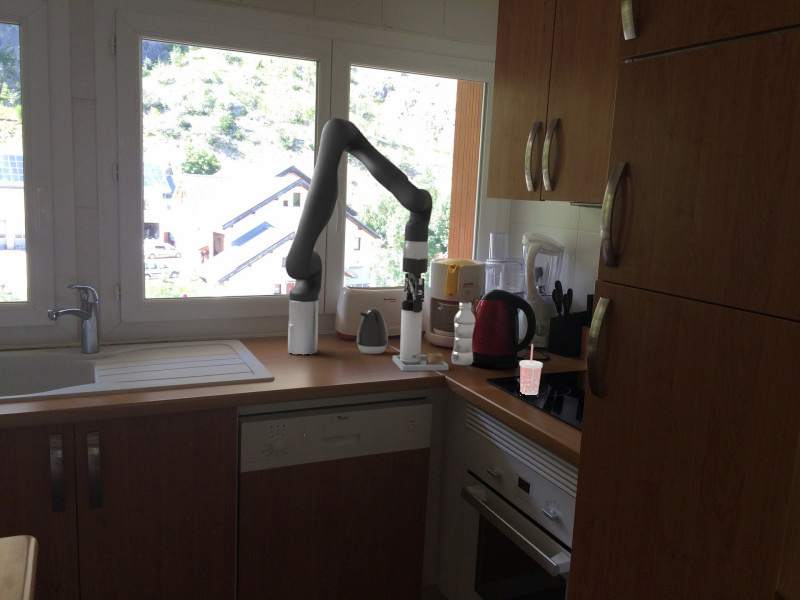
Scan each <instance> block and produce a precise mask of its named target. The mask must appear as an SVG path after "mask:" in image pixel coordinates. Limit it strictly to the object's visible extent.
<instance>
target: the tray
mask: <svg viewBox="0 0 800 600" xmlns="http://www.w3.org/2000/svg"><path fill="white" fill-rule="evenodd" d="M426 359H427V354H421V357H420V364H419V365H405V364H404V363H403V362H402V361H401V360H400V354H399V355H398V354H397V355H392V362H393V363H394V364H395V365H396V366H397V367H398V368H399V370H401V371H402V372H430V371H431V372H432V371H436V372H437V371H449V364H448V363H447V362H446V361H444V360H443V364H438V365H426Z"/></svg>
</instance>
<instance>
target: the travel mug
mask: <svg viewBox="0 0 800 600" xmlns="http://www.w3.org/2000/svg"><path fill="white" fill-rule="evenodd" d="M424 299H425V298H424ZM424 299H422V300H421V312H420V313H415V312H413V300H414V299H411V300H406V299H405V300H403V301H402V302H401V317H400V318H401V319H400V320H401V321H400V345H399V347H400V348H399V349H400V350H399V352H400V353H399V355H400V360H401V361H402V362H403V363H404V364H405V365H419V364H420V357H421V355H422V353H421V352H422V351H421V350H422V329H423V327H422V325H423V303H424V302H425V300H424Z"/></svg>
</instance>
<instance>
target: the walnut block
mask: <svg viewBox="0 0 800 600" xmlns="http://www.w3.org/2000/svg"><path fill="white" fill-rule="evenodd" d="M426 355H427V359H426V365H438V364H443V361H444V355H443V354H442V353H440V352H426Z"/></svg>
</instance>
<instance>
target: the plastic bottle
mask: <svg viewBox="0 0 800 600" xmlns="http://www.w3.org/2000/svg"><path fill="white" fill-rule="evenodd" d="M472 308H473V307H472V302H471V301H459V306H458V309H459V310H458V311H457V313H456V314H455V316H454V317H453V318H454V319H453V324H454V342H453V350H452V353H451V363H452V364H453V365H457V366H470V365H472V364H473V361H474V355H473V354H474V353H473V336H474V329H475V326H476V317H475V314H474V313H473V312H472Z"/></svg>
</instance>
